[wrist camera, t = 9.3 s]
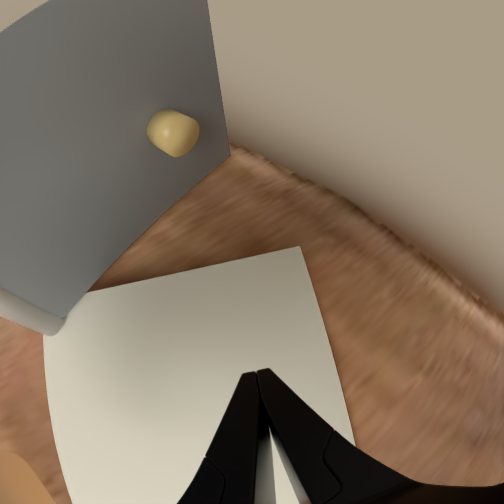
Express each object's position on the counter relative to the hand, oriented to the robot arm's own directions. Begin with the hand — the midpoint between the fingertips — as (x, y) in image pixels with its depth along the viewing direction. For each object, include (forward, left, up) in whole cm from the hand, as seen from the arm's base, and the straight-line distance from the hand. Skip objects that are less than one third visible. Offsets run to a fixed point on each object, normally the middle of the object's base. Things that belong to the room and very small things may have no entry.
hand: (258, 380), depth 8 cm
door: (+10, +3, -5) cm, 12 cm away
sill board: (+1, +5, -7) cm, 8 cm away
